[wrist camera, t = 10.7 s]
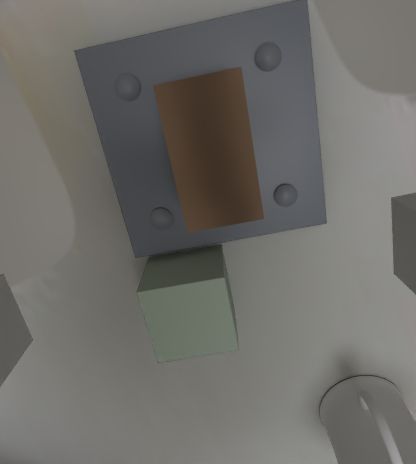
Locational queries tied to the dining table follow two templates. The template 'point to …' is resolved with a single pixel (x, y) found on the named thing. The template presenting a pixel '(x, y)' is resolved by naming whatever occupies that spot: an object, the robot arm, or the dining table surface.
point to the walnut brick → (211, 149)
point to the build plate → (259, 109)
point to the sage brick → (188, 304)
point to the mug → (369, 422)
